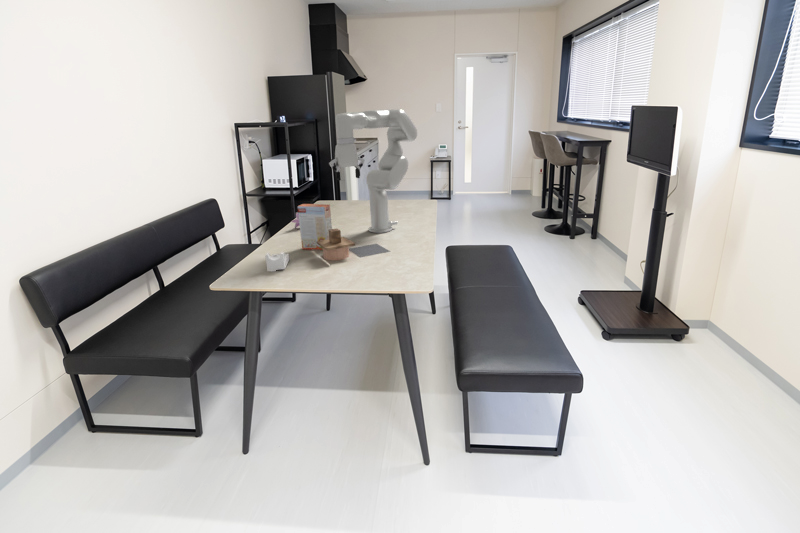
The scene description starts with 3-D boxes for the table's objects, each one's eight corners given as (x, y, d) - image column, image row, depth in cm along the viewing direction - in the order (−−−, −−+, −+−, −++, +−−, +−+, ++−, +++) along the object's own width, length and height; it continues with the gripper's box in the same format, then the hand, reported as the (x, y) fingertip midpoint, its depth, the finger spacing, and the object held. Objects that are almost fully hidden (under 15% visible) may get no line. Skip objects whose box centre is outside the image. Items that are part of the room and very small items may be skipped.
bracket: (285, 271, 193) (282, 253, 190) (267, 272, 192) (265, 254, 190) (289, 261, 205) (287, 244, 202) (273, 262, 204) (270, 245, 202)
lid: (343, 238, 213) (342, 224, 210) (355, 245, 202) (354, 230, 200) (316, 243, 207) (315, 229, 205) (326, 250, 196) (325, 235, 194)
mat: (376, 244, 223) (376, 243, 222) (390, 252, 210) (390, 251, 210) (347, 250, 216) (347, 248, 216) (360, 258, 204) (359, 257, 203)
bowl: (343, 252, 213) (342, 239, 211) (352, 258, 204) (352, 245, 202) (320, 256, 209) (319, 243, 207) (329, 263, 199) (327, 249, 197)
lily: (318, 228, 261) (313, 212, 262) (312, 225, 249) (306, 208, 250) (299, 235, 262) (293, 219, 263) (291, 232, 251) (286, 216, 251)
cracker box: (334, 247, 221) (330, 204, 214) (328, 251, 215) (324, 206, 209) (308, 245, 225) (303, 203, 218) (301, 249, 220) (296, 205, 213)
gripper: (359, 140, 222) (361, 176, 228) (325, 142, 215) (328, 180, 220) (366, 140, 216) (368, 178, 222) (330, 143, 209) (333, 182, 214)
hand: (348, 179), depth 221 cm, fingers open, 9 cm apart
